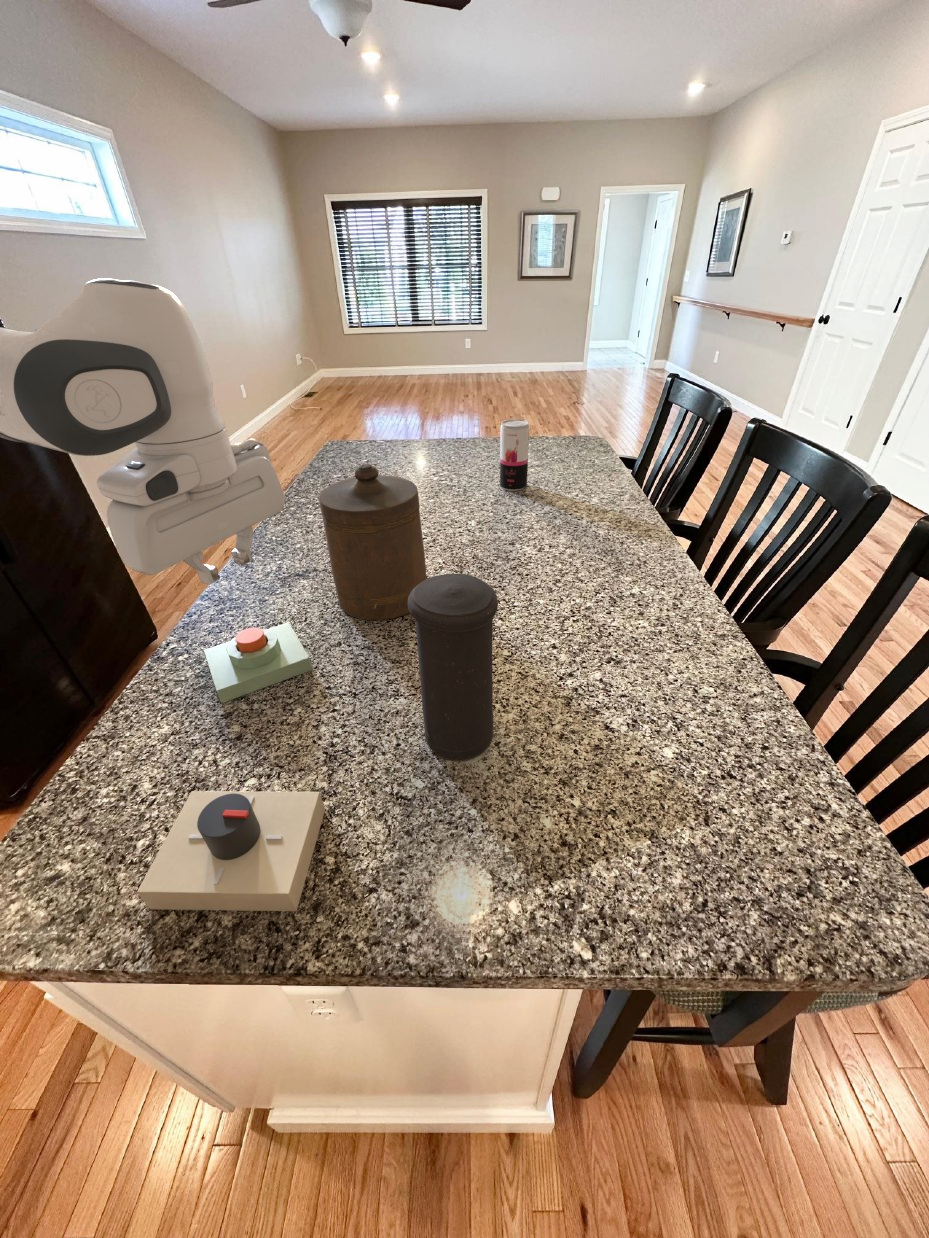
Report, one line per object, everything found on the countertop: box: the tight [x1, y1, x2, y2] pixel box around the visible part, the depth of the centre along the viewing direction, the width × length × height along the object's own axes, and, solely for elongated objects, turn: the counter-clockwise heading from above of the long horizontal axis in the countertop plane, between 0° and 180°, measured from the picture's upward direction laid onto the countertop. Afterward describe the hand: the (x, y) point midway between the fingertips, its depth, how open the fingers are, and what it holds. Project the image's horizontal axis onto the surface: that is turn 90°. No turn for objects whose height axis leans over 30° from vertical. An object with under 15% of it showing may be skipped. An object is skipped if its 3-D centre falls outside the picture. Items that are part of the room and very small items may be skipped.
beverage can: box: [499, 418, 530, 492], centre depth 121 cm, size 6×6×15 cm
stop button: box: [234, 627, 267, 653], centre depth 69 cm, size 4×4×2 cm
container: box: [408, 573, 499, 762], centre depth 55 cm, size 9×9×20 cm
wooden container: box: [318, 463, 428, 621], centre depth 79 cm, size 15×15×22 cm
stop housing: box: [203, 621, 313, 704], centre depth 71 cm, size 12×10×4 cm
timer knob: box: [197, 793, 260, 860], centre depth 46 cm, size 4×4×4 cm
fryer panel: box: [136, 790, 326, 912], centre depth 48 cm, size 13×10×3 cm
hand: (228, 571), depth 63 cm, fingers open, 4 cm apart
